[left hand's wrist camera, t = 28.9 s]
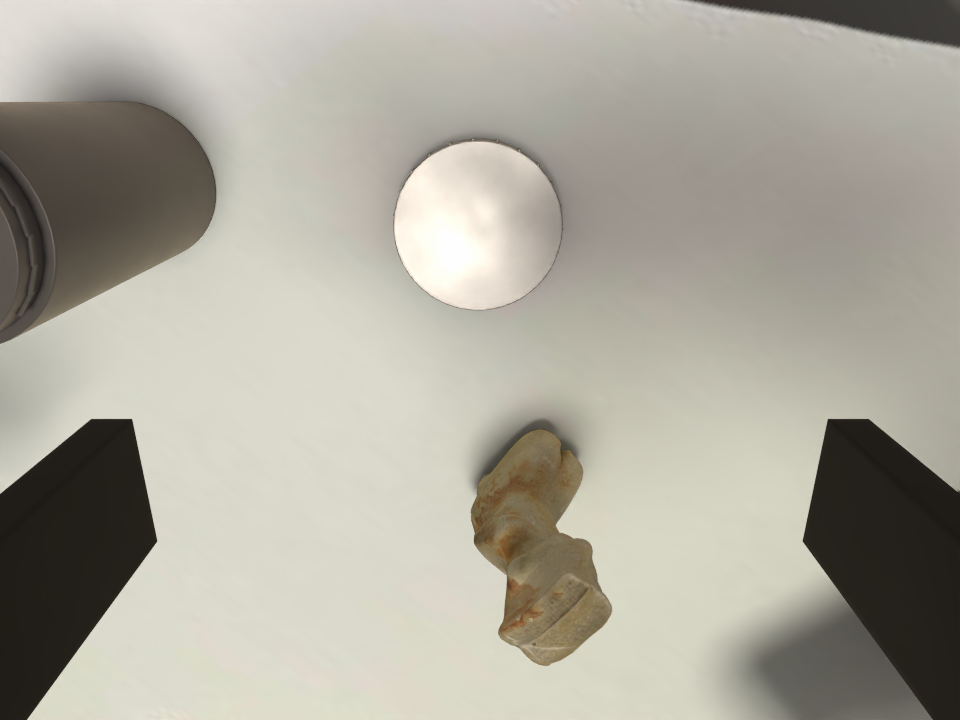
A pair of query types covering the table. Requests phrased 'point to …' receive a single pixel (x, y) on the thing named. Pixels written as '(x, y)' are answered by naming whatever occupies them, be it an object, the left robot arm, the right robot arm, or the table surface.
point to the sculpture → (539, 550)
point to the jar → (91, 202)
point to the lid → (478, 224)
